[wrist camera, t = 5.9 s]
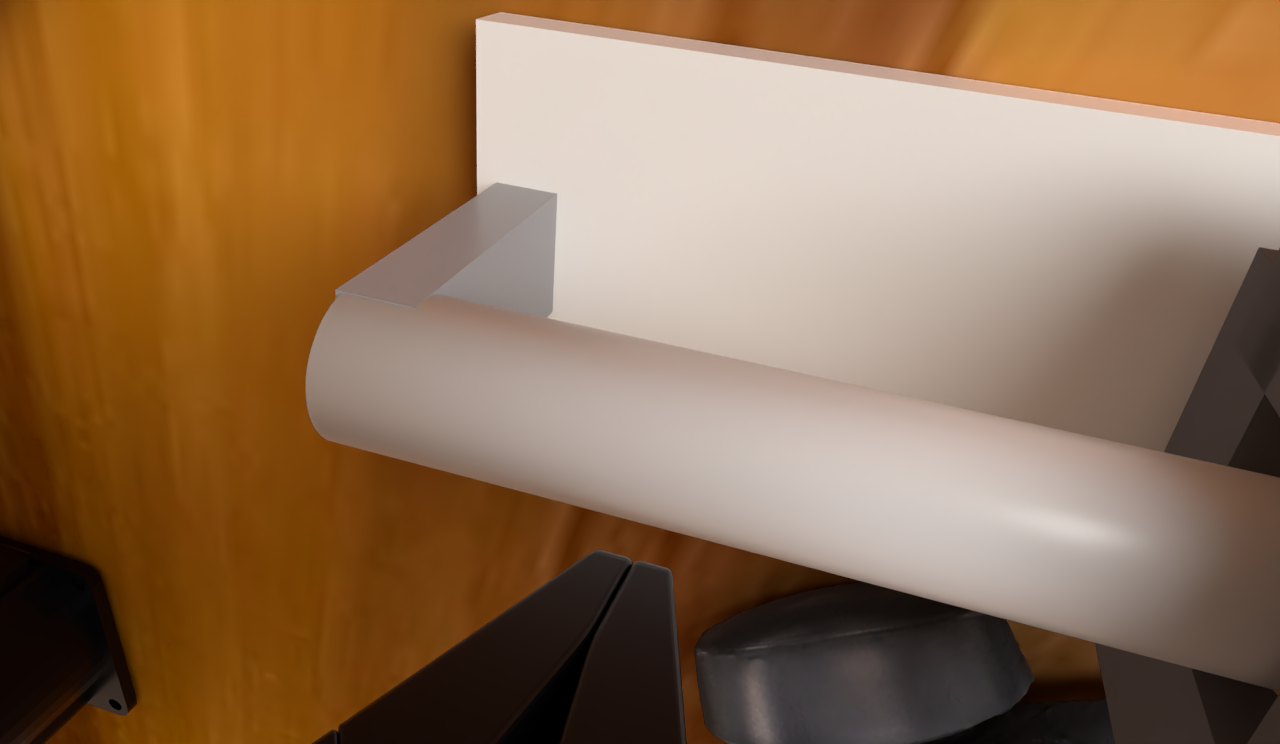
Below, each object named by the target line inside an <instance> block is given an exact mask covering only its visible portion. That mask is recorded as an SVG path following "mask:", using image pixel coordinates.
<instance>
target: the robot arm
mask: <svg viewBox="0 0 1280 744" xmlns="http://www.w3.org/2000/svg"><path fill="white" fill-rule="evenodd" d="M86 703H87V704H90V705H93V706H96V707H98V708H101V709H104V710H107V711H110V712H112V713H115V714H118V715H126V714H127V713H128V712H129V711H130V710H131V709H132V708H133V707H134V706H135V705H136V704H137V700H136V696H135V693H134V690H133V686H132V683H131V679H130V676H129V672H128V669H127V666H126V662H125V659H124V655H123V652H122V648H121V645H120V641H119V638H118V635H117V631H116V628H115V624H114V621H113V617H112V614H111V611H110V607H109V604H108V600H107V597H106V593H105V590H104V587H103V583H102V580H101V578H100V576H99V574H98V573H97V572H96V571H95V570H94V569H93V568H91V567H90V566H88V565H86V564H83V563H80V562H77V561H74V560H71V559H67V558H64V557H61V556H58V555H55V554H52V553H49V552H45V551H42V550H39V549H36V548H33V547H30V546H26V545H23V544H20V543H17V542H14V541H11V540H7V539H4V538H1V537H0V744H44V743H45V742H46V741H48V740H49V739H50V738H51V737H52V736H53V735H54V734H55V733H56V732H57V731H58V730H59V729H60V728H61V727H62V726H63V725H64V724H65V723H66V722H67V721H68V720H70V719H71V718H72V717H73V716H74V715H75V714H76V713H77V712H78V711H79V710H80V709H81V708H82V707H83V706H84V705H85V704H86ZM312 744H687V740H686V728H685V716H684V704H683V692H682V680H681V669H680V657H679V645H678V633H677V621H676V609H675V597H674V586H673V575H672V572H671V570H670V569H668V568H666V567H662V566H659V565H655V564H651V563H648V562H644V561H636V562H634V563H632V561H631V559H630V558H628V557H626V556H622V555H618V554H614V553H611V552H607V551H603V550H596V551H593V552H591V553H590V554H588V555H587V556H585V557H584V558H582V559H581V560H579V561H578V562H576V563H575V564H573V565H572V566H571V567H569V568H568V569H566V570H565V571H563V572H562V573H560V574H559V575H557V576H556V577H555V578H553V579H552V580H550V581H549V582H547V583H546V584H544V585H543V586H541V587H540V588H539V589H537V590H536V591H534V592H533V593H531V594H530V595H528V596H527V597H525V598H524V599H522V600H521V601H520V602H518V603H517V604H515V605H514V606H512V607H511V608H509V609H508V610H506V611H505V612H504V613H502V614H501V615H499V616H498V617H496V618H495V619H493V620H492V621H490V622H489V623H487V624H486V625H485V626H483V627H482V628H480V629H479V630H477V631H476V632H474V633H473V634H471V635H470V636H469V637H467V638H466V639H464V640H463V641H461V642H460V643H458V644H457V645H455V646H454V647H452V648H451V649H450V650H448V651H447V652H445V653H444V654H442V655H441V656H439V657H438V658H436V659H435V660H434V661H432V662H431V663H429V664H428V665H426V666H425V667H423V668H422V669H420V670H419V671H418V672H416V673H415V674H413V675H412V676H410V677H409V678H407V679H406V680H404V681H403V682H401V683H400V684H399V685H397V686H396V687H394V688H393V689H391V690H390V691H388V692H387V693H385V694H384V695H383V696H381V697H380V698H378V699H377V700H375V701H374V702H372V703H371V704H369V705H368V706H366V707H365V708H364V709H362V710H361V711H359V712H358V713H356V714H355V715H353V716H352V717H350V718H349V719H348V720H346V721H345V722H343V723H342V724H340V726H339V730H338V732H337V731H336V730H331V731H329V732H328V733H327V734H325V735H324V736H322V737H321V738H319V739H318V740H316V741H315V742H313V743H312Z"/></svg>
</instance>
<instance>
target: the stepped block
mask: <svg viewBox="0 0 1280 744" xmlns="http://www.w3.org/2000/svg"><path fill="white" fill-rule="evenodd" d="M1164 452H1165V453H1169V454H1174V455H1178V456H1183V457H1188V458H1192V459H1197V460H1201V461H1206V462H1210V463H1215V464H1220V465H1224V466H1229V467H1233V468H1238V469H1243V470H1247V471H1252V472H1256V473H1261V474H1266V475H1270V476H1275V477H1279V478H1280V248H1279V250H1273V249H1267V248H1261V247H1259V248H1258V250H1257V252H1256V255H1255V257H1254V259H1253V261H1252V263H1251V265H1250V268H1249V270H1248V272H1247V274H1246V276H1245V278H1244V280H1243V283H1242V285H1241V287H1240V289H1239V291H1238V293H1237V296H1236V298H1235V300H1234V302H1233V304H1232V306H1231V308H1230V311H1229V313H1228V315H1227V317H1226V319H1225V321H1224V324H1223V326H1222V328H1221V330H1220V332H1219V334H1218V336H1217V339H1216V341H1215V343H1214V345H1213V347H1212V349H1211V352H1210V354H1209V356H1208V358H1207V360H1206V362H1205V364H1204V367H1203V369H1202V371H1201V373H1200V375H1199V377H1198V380H1197V382H1196V384H1195V386H1194V388H1193V390H1192V392H1191V395H1190V397H1189V399H1188V401H1187V403H1186V405H1185V408H1184V410H1183V412H1182V414H1181V416H1180V418H1179V421H1178V423H1177V425H1176V427H1175V429H1174V431H1173V433H1172V436H1171V438H1170V440H1169V442H1168V444H1167V446H1166V449H1165V451H1164ZM1095 644H1096V649H1097V654H1098V659H1099V664H1100V669H1101V674H1102V680H1103V685H1104V690H1105V695H1106V700H1107V705H1108V710H1109V715H1110V720H1111V726H1112V731H1113V736H1114V741H1115V744H1280V694H1279V695H1277V694H1276V693H1275V692H1274V691H1273V690H1272V689H1268V688H1265V687H1261V686H1257V685H1253V684H1249V683H1246V682H1242V681H1238V680H1234V679H1230V678H1227V677H1223V676H1219V675H1215V674H1212V673H1208V672H1204V671H1200V670H1196V669H1193V668H1189V667H1185V666H1181V665H1177V664H1174V663H1170V662H1166V661H1162V660H1158V659H1155V658H1151V657H1147V656H1143V655H1139V654H1136V653H1132V652H1128V651H1124V650H1120V649H1117V648H1113V647H1109V646H1105V645H1101V644H1098V643H1095Z"/></svg>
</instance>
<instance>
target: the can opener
mask: <svg viewBox="0 0 1280 744" xmlns="http://www.w3.org/2000/svg"><path fill="white" fill-rule="evenodd" d="M694 654H695V660H696V671H697V680H698V686H699V693H700V700H701V705H702V710H703V716H704V723H705V725H706V727H707V728H708V730H709V731H710V732H711V733H712V734H713V735H714V736H716V737H717V738H719V739H721V740H723V741H724V742H726V743H728V744H1115V741H1114V736H1113V731H1112V726H1111V720H1110V715H1109V710H1108V705H1107V700H1106V698H1102V699H1093V700H1076V701H1065V702H1028V701H1020V700H1021V699H1022V698H1023V696H1024V695H1025V694H1026V693H1027V691H1028V689H1029V686H1030V684H1031V683H1032V682H1033V681H1034V678H1033V675H1032V673H1031V670H1030V668H1029V666H1028V664H1027V662H1026V660H1025V657H1024V656H1023V654H1022V653H1021V651H1020V648H1019V645H1018V643H1017V641H1016V640H1015V637H1014V635H1013V633H1012V630H1011V628H1010V626H1009V625H1008V623H1007V621H1006V620H1005V619H1003V618H999V617H995V616H991V615H988V614H984V613H980V612H976V611H972V610H969V609H965V608H961V607H957V606H953V605H950V604H946V603H942V602H938V601H935V600H931V599H927V598H923V597H919V596H916V595H912V594H908V593H904V592H900V591H897V590H893V589H889V588H885V587H881V586H878V585H874V584H870V583H866V582H859V583H853V584H841V585H836V586H831V587H825V588H820V589H815V590H810V591H805V592H802V593H798V594H795V595H791V596H787V597H784V598H780V599H776V600H773V601H771V602H768V603H765V604H762V605H760V606H757V607H754V608H751V609H748V610H745V611H743V612H741V613H738V614H736V615H734V616H732V617H730V618H728V619H726V620H724V621H723V622H720V623H718V624H716V625H714V626H712V627H711V628H709V629H708V630H706V631H705V632H704V633H703V634H702V636H701V637H700V638H699V640H698V642H697V644H696V646H695V649H694Z"/></svg>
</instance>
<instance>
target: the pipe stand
mask: <svg viewBox="0 0 1280 744" xmlns="http://www.w3.org/2000/svg"><path fill="white" fill-rule="evenodd" d="M476 109H477V196H475V197H474V198H472V199H471V200H469V201H468V202H466V203H465V204H463V205H462V206H460V207H459V208H457V209H456V210H454V211H453V212H451V213H450V214H448V215H447V216H445V217H444V218H442V219H441V220H439V221H438V222H436V223H435V224H433V225H432V226H430V227H429V228H427V229H426V230H424V231H423V232H421V233H420V234H418V235H417V236H415V237H414V238H412V239H411V240H409V241H408V242H406V243H405V244H403V245H402V246H400V247H399V248H397V249H396V250H394V251H393V252H391V253H390V254H388V255H387V256H385V257H384V258H382V259H381V260H379V261H378V262H376V263H375V264H373V265H372V266H370V267H369V268H367V269H366V270H364V271H363V272H361V273H360V274H358V275H357V276H355V277H354V278H352V279H351V280H349V281H348V282H346V283H345V284H343V285H342V286H340V287H339V288H337V289H336V290H335V294H336V299H335V301H334V302H333V303H332V304H331V306H330V307H329V309H328V311H327V312H326V314H325V316H324V317H323V319H322V321H321V323H320V326H319V328H318V330H317V333H316V335H315V338H314V341H313V344H312V347H311V351H310V355H309V360H308V365H307V373H306V403H307V409H308V413H309V416H310V420H311V422H312V424H313V426H314V428H315V429H316V431H317V432H318V434H320V435H321V436H322V437H323V438H324V439H326V440H328V441H331V442H335V443H339V444H343V445H346V446H350V447H354V448H358V449H362V450H365V451H369V452H373V453H377V454H381V455H384V456H388V457H392V458H396V459H399V460H403V461H407V462H411V463H415V464H418V465H422V466H426V467H430V468H434V469H437V470H441V471H445V472H449V473H453V474H456V475H460V476H464V477H468V478H472V479H475V480H479V481H483V482H487V483H491V484H494V485H498V486H502V487H506V488H510V489H513V490H517V491H521V492H525V493H528V494H532V495H536V496H540V497H544V498H547V499H551V500H555V501H559V502H563V503H566V504H570V505H574V506H578V507H582V508H585V509H589V510H593V511H597V512H601V513H604V514H608V515H612V516H616V517H620V518H623V519H627V520H631V521H635V522H639V523H642V524H646V525H650V526H654V527H658V528H661V529H665V530H669V531H673V532H676V533H680V534H684V535H688V536H692V537H695V538H699V539H703V540H707V541H711V542H714V543H718V544H722V545H726V546H730V547H733V548H737V549H741V550H745V551H749V552H752V553H756V554H760V555H764V556H768V557H771V558H775V559H779V560H783V561H787V562H790V563H794V564H798V565H802V566H805V567H809V568H813V569H817V570H821V571H824V572H828V573H832V574H836V575H840V576H843V577H847V578H851V579H855V580H859V581H862V582H866V583H870V584H874V585H878V586H881V587H885V588H889V589H893V590H897V591H900V592H904V593H908V594H912V595H916V596H919V597H923V598H927V599H931V600H935V601H938V602H942V603H946V604H950V605H953V606H957V607H961V608H965V609H969V610H972V611H976V612H980V613H984V614H988V615H991V616H995V617H999V618H1003V619H1007V620H1010V621H1014V622H1018V623H1022V624H1026V625H1029V626H1033V627H1037V628H1041V629H1045V630H1048V631H1052V632H1056V633H1060V634H1064V635H1067V636H1071V637H1075V638H1079V639H1083V640H1086V641H1090V642H1094V643H1098V644H1101V645H1105V646H1109V647H1113V648H1117V649H1120V650H1124V651H1128V652H1132V653H1136V654H1139V655H1143V656H1147V657H1151V658H1155V659H1158V660H1162V661H1166V662H1170V663H1174V664H1177V665H1181V666H1185V667H1189V668H1193V669H1196V670H1200V671H1204V672H1208V673H1212V674H1215V675H1219V676H1223V677H1227V678H1230V679H1234V680H1238V681H1242V682H1246V683H1249V684H1253V685H1257V686H1261V687H1265V688H1268V689H1272V690H1273V691H1274V692H1275V693H1276V694H1277V695H1279V694H1280V478H1279V477H1275V476H1270V475H1266V474H1261V473H1256V472H1252V471H1247V470H1243V469H1238V468H1233V467H1229V466H1224V465H1220V464H1215V463H1210V462H1206V461H1201V460H1197V459H1192V458H1188V457H1183V456H1178V455H1174V454H1169V453H1165V452H1164V451H1165V449H1166V446H1167V444H1168V442H1169V440H1170V438H1171V436H1172V433H1173V431H1174V429H1175V427H1176V425H1177V423H1178V421H1179V418H1180V416H1181V414H1182V412H1183V410H1184V408H1185V405H1186V403H1187V401H1188V399H1189V397H1190V395H1191V392H1192V390H1193V388H1194V386H1195V384H1196V382H1197V380H1198V377H1199V375H1200V373H1201V371H1202V369H1203V367H1204V364H1205V362H1206V360H1207V358H1208V356H1209V354H1210V352H1211V349H1212V347H1213V345H1214V343H1215V341H1216V339H1217V336H1218V334H1219V332H1220V330H1221V328H1222V326H1223V324H1224V321H1225V319H1226V317H1227V315H1228V313H1229V311H1230V308H1231V306H1232V304H1233V302H1234V300H1235V298H1236V296H1237V293H1238V291H1239V289H1240V287H1241V285H1242V283H1243V280H1244V278H1245V276H1246V274H1247V272H1248V270H1249V268H1250V265H1251V263H1252V261H1253V259H1254V257H1255V255H1256V252H1257V250H1258V248H1259V247H1261V248H1267V249H1273V250H1279V248H1280V123H1273V122H1266V121H1259V120H1252V119H1245V118H1238V117H1231V116H1224V115H1217V114H1210V113H1203V112H1196V111H1189V110H1182V109H1175V108H1168V107H1161V106H1154V105H1147V104H1140V103H1133V102H1126V101H1119V100H1112V99H1105V98H1098V97H1091V96H1084V95H1077V94H1070V93H1063V92H1056V91H1049V90H1042V89H1035V88H1028V87H1021V86H1014V85H1007V84H1000V83H993V82H986V81H979V80H972V79H965V78H958V77H951V76H944V75H937V74H930V73H923V72H916V71H909V70H902V69H895V68H888V67H881V66H874V65H867V64H860V63H853V62H846V61H839V60H832V59H825V58H818V57H811V56H804V55H797V54H790V53H783V52H776V51H769V50H762V49H755V48H748V47H741V46H734V45H727V44H720V43H713V42H706V41H699V40H692V39H685V38H678V37H671V36H664V35H657V34H650V33H643V32H636V31H629V30H622V29H615V28H608V27H601V26H594V25H587V24H580V23H573V22H566V21H559V20H552V19H545V18H538V17H531V16H524V15H517V14H510V13H503V12H499V13H496V14H492V15H489V16H485V17H482V18H478V19H476Z"/></svg>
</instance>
